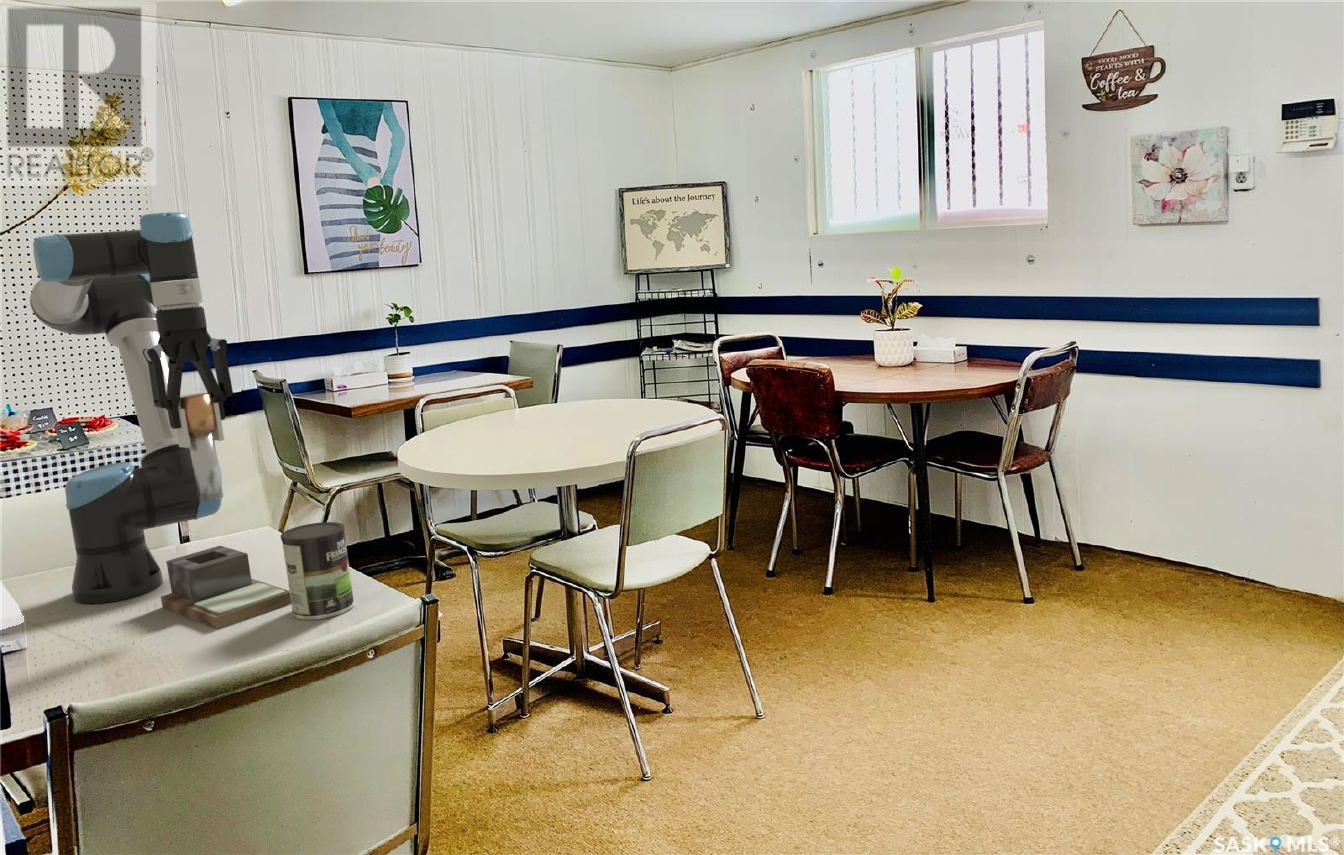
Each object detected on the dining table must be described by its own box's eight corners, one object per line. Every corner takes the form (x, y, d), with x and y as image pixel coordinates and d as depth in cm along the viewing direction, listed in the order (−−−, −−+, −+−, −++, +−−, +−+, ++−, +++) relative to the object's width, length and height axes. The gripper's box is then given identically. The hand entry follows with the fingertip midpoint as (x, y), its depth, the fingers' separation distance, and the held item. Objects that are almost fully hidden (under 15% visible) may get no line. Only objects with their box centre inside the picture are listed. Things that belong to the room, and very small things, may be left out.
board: (162, 607, 191) (154, 564, 190) (236, 583, 202) (230, 542, 200) (217, 629, 179) (209, 583, 177) (293, 602, 189) (287, 558, 187)
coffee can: (365, 598, 188) (355, 520, 186) (336, 620, 178) (325, 539, 176) (312, 598, 190) (300, 521, 188) (280, 620, 181) (268, 539, 178)
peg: (203, 503, 182) (185, 398, 179) (189, 500, 185) (171, 397, 182) (232, 496, 186) (215, 393, 183) (218, 493, 189) (201, 392, 186)
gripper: (132, 312, 171) (157, 455, 175) (241, 300, 184) (262, 434, 188) (113, 313, 176) (138, 452, 180) (220, 302, 189) (241, 431, 193)
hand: (201, 443), depth 184 cm, fingers closed on peg, 5 cm apart
